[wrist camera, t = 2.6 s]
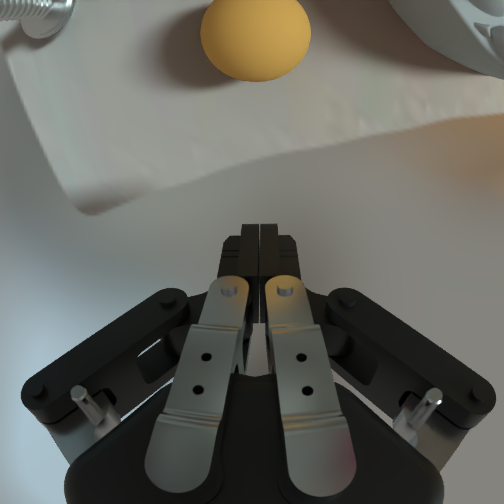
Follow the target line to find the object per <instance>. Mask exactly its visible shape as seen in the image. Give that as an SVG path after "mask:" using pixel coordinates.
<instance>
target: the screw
mask: <svg viewBox="0 0 504 504" xmlns="http://www.w3.org/2000/svg"><path fill="white" fill-rule="evenodd" d="M74 4H75V0H0V21H3V20H5V21H8V20H15V19H16V20H20V19H21V25H22V28H23V30H24V32H25V33H26V34H27V35H28V36H30V37H31V38H36V39H40V38H47V37H49V36H52V35H53V34H55V33H57V32H58V31H59V30H60V29H61V28H62V27H63V26H64V25H65V23H66V22H67V21H68V19H69V17H70V16H71V14H72V11H73V8H74Z"/></svg>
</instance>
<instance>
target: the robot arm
mask: <svg viewBox="0 0 504 504" xmlns="http://www.w3.org/2000/svg"><path fill="white" fill-rule="evenodd" d="M259 284H260V323H265V341H266V352H267V363H268V373H269V374H267V375H262V376H258V377H252V376H247V375H246V374H247V367H248V360H249V354H250V347H251V335H252V331H253V323H259ZM158 339H161V340H160V341H159V342H158V343H156V344H155V345H154V346H152V347H151V348H150V349H148V350H147V351H146V352H144V353H143V354H142V355H140V356H139V357H138V355H139V354H140V353H141V352H142V351H144V350H145V349H146V348H148V347H149V346H151V345H152V344H153V343H154V342H156V341H157V340H158ZM331 369H333V370H334V371H335V372H336V373H337V374H339V375H340V376H341V377H342V378H343V379H344V380H346V381H347V382H348V383H349V384H350V385H352V386H353V387H354V388H355V389H356V390H358V391H359V392H360V393H361V394H362V395H364V396H365V397H366V398H367V399H368V400H370V401H371V402H372V403H373V404H374V405H376V406H377V407H378V408H379V409H381V410H382V411H383V412H384V413H385V414H387V415H388V416H389V417H390V418H392V419H393V429H392V428H391V427H390V426H389V425H388V424H387V423H386V422H384V421H383V420H382V419H381V418H380V417H379V416H378V415H377V414H375V413H374V412H373V411H372V410H371V409H370V408H369V407H368V406H367V405H365V404H364V403H363V402H362V401H361V400H360V399H359V398H358V397H357V396H355V395H354V394H353V393H352V392H351V391H350V390H348V389H347V388H345V387H344V386H342V385H340V384H338V383H336V382H334V379H333V375H332V371H331ZM173 377H174V379H173V382H172V383H170V384H168V385H166V386H165V387H163V388H162V389H160V390H159V391H158V392H156V393H155V394H154V395H153V396H152V397H150V398H149V399H148V400H147V401H146V402H145V403H143V404H142V405H141V406H140V407H139V408H137V409H136V410H135V411H134V412H133V413H131V414H130V415H129V416H128V417H127V418H125V419H124V420H123V421H122V422H121V418H122V417H123V416H124V415H126V414H127V413H128V412H130V411H131V410H132V409H134V408H135V407H136V406H138V405H139V404H140V403H141V402H143V401H144V400H145V399H146V398H148V397H149V396H150V395H152V394H153V393H154V392H155V391H157V390H158V389H159V388H160V387H162V386H163V385H164V384H165V383H167V382H168V381H169V380H170V379H172V378H173ZM21 400H22V402H23V404H24V406H25V407H26V408H27V409H28V410H29V411H30V412H31V413H32V414H33V415H34V416H35V417H36V418H37V420H38V421H39V422H40V423H41V424H42V425H43V426H44V427H46V428H47V429H48V431H49V433H50V434H51V436H52V438H53V439H54V441H55V443H56V444H57V446H58V447H59V449H60V451H61V452H62V454H63V455H64V457H65V458H66V460H67V461H68V463H69V464H70V467H69V469H68V471H67V473H66V476H65V481H64V493H65V498H66V502H67V504H443V499H444V484H443V480H442V477H441V475H440V473H439V472H440V471H441V470H442V468H443V467H444V466H445V464H446V463H447V462H448V460H449V459H450V457H451V456H452V455H453V453H454V451H455V450H456V449H457V448H458V446H459V445H460V443H461V442H462V440H463V439H464V437H465V435H467V434H468V433H469V432H470V431H471V430H472V429H473V428H474V427H475V426H476V425H477V424H478V423H479V422H480V421H481V420H482V419H483V418H484V417H485V416H486V415H487V414H488V413H489V412H490V411H491V410H492V409H493V408H494V406H495V403H496V394H495V391H494V388H493V387H492V385H491V384H490V383H489V382H488V381H487V380H485V379H484V378H482V377H481V376H480V375H478V374H477V373H476V372H474V371H473V370H471V369H470V368H468V367H467V366H466V365H465V364H463V363H462V362H460V361H459V360H457V359H456V358H455V357H453V356H452V355H450V354H449V353H447V352H446V351H445V350H443V349H442V348H440V347H439V346H438V345H436V344H435V343H433V342H432V341H430V340H429V339H428V338H426V337H425V336H423V335H422V334H420V333H419V332H417V331H416V330H415V329H413V328H412V327H410V326H409V325H407V324H406V323H404V322H403V321H402V320H400V319H399V318H397V317H395V316H394V315H393V314H391V313H390V312H388V311H387V310H385V309H384V308H382V307H381V306H380V305H378V304H377V303H375V302H373V301H372V300H371V299H369V298H368V297H366V296H365V295H363V294H362V293H360V292H359V291H356V290H354V289H351V288H338V289H335V290H333V291H332V292H331V293H330V294H329V295H328V296H324V295H320V294H316V293H314V292H311V291H310V290H308V289H307V288H306V287H305V286H304V284H303V282H302V281H301V275H300V268H299V261H298V254H297V247H296V242H295V240H294V239H293V238H292V237H291V236H290V235H278V226H277V224H261V225H260V242H259V224H242V229H241V236H229V237H228V238H227V239H226V240H225V242H224V243H223V249H222V254H221V259H220V264H219V270H218V275H217V279H216V280H214V281H213V282H212V284H211V285H210V287H209V290H208V291H207V292H205V293H203V294H199V295H195V296H191V297H187V295H186V293H185V292H184V291H182V290H180V289H177V288H166V289H162V290H160V291H158V292H156V293H155V294H153V295H152V296H150V297H149V298H147V299H146V300H144V301H143V302H141V303H140V304H138V305H137V306H135V307H134V308H132V309H131V310H129V311H128V312H126V313H125V314H123V315H122V316H120V317H119V318H117V319H116V320H114V321H113V322H111V323H110V324H108V325H107V326H105V327H104V328H102V329H101V330H99V331H98V332H96V333H95V334H93V335H92V336H90V337H89V338H87V339H86V340H84V341H83V342H82V343H80V344H79V345H77V346H76V347H74V348H73V349H71V350H70V351H68V352H67V353H65V354H64V355H62V356H61V357H59V358H58V359H57V360H55V361H54V362H52V363H51V364H49V365H48V366H47V367H45V368H43V369H42V370H41V371H39V372H38V373H36V374H35V375H33V376H32V377H31V378H29V379H28V380H27V381H26V382H25V384H24V386H23V388H22V391H21Z"/></svg>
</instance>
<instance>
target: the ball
mask: <svg viewBox="0 0 504 504" xmlns="http://www.w3.org/2000/svg"><path fill="white" fill-rule="evenodd" d="M200 37H201V43H202V46H203V49H204V51H205V54H206V55H207V57H208V59H209V60H210V61H211V62H212V64H213V65H214V66H215V67H217V68H218V69H219V70H220V71H222V72H223V73H225V74H227V75H228V76H230V77H233V78H235V79H239V80H243V81H249V82H262V81H268V80H273V79H276V78H279V77H281V76H283V75H285V74H287V73H288V72H290V71H291V70H292V69H294V68H295V67H296V66H297V65H298V64H299V63H300V62H301V60H302V59H303V57H304V56H305V54H306V52H307V50H308V47H309V44H310V38H311V29H310V23H309V19H308V17H307V14H306V12H305V11H304V9H303V7H302V6H301V5H300V4H299V2H298V1H297V0H214V1H213V2H212V3H211V4H210V6H209V7H208V9H207V10H206V12H205V14H204V17H203V20H202V23H201V29H200Z"/></svg>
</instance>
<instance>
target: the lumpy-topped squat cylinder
mask: <svg viewBox="0 0 504 504" xmlns="http://www.w3.org/2000/svg"><path fill="white" fill-rule="evenodd" d="M388 1H389V3H390V4H391V6H392V7H393V9H394V10H395V12H396V13H397V14H398V15H399V17H400V18H401V19H402V20H403V21H404V22H405V23H406V25H407V26H408V27H409V28H410V29H411V30H412V31H413V32H414V33H415V34H416V35H417V37H418V38H419V39H420V40H421V41H422V42H423V43H424V44H426V45H427V46H428V47H430V48H431V49H433V50H435V51H436V52H438V53H440V54H442V55H443V56H445V57H447V58H449V59H451V60H453V61H455V62H457V63H459V64H461V65H463V66H465V67H467V68H470V69H473V70H475V71H477V72H479V73H482V74H485V75H488V76H492V77H496V78H499V79H503V80H504V0H388Z"/></svg>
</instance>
